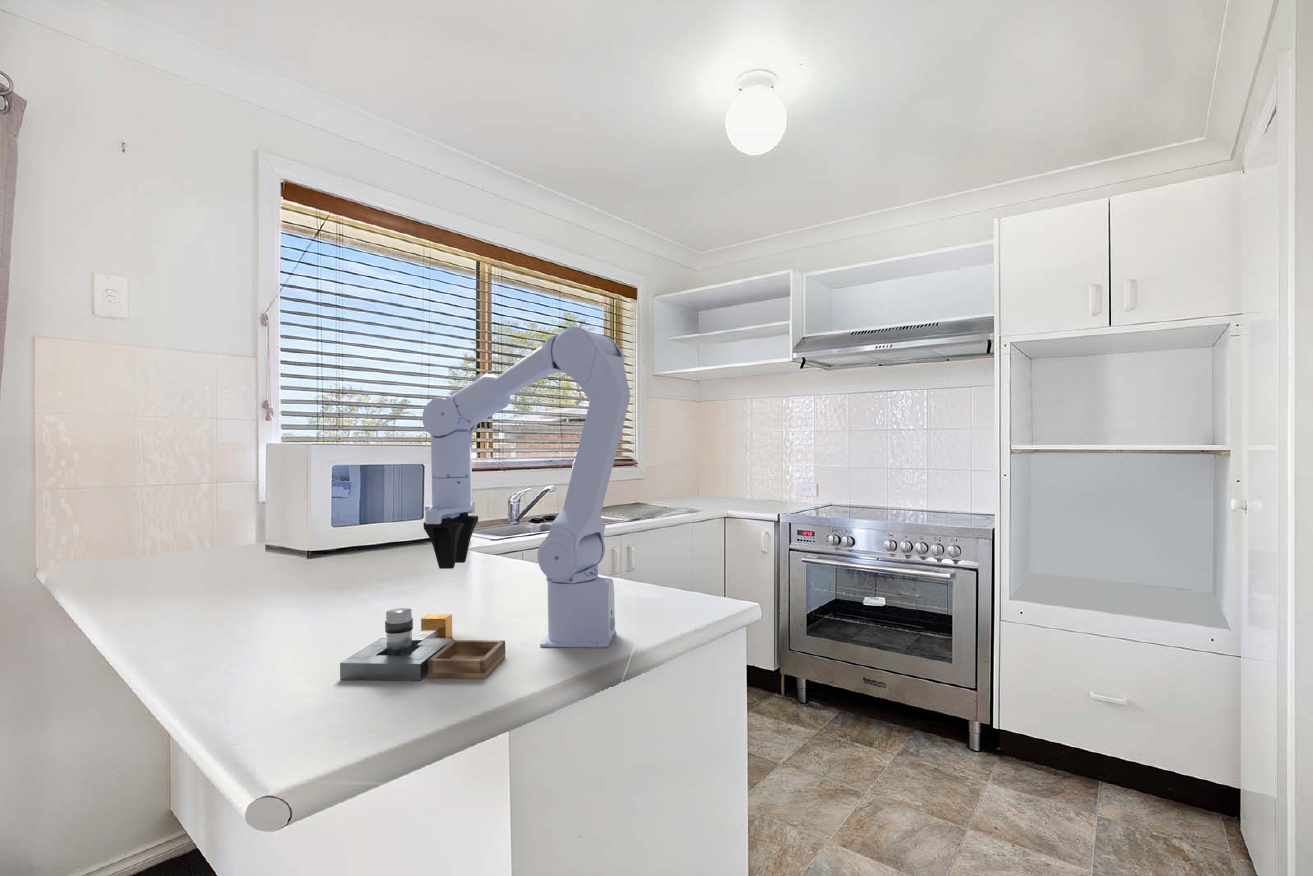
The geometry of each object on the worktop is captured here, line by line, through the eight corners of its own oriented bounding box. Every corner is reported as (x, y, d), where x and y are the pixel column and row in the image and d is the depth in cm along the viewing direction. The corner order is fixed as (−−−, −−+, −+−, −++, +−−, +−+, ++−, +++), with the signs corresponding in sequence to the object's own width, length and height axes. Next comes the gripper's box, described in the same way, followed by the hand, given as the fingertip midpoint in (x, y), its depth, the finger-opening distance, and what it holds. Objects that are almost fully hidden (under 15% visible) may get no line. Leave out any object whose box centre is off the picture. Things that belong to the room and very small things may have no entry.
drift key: (428, 635, 97) (428, 614, 97) (452, 636, 97) (451, 614, 97) (402, 654, 89) (402, 630, 89) (428, 654, 88) (428, 630, 88)
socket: (381, 652, 89) (381, 637, 89) (453, 653, 89) (452, 638, 89) (340, 679, 79) (339, 663, 79) (420, 680, 79) (420, 663, 79)
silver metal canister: (417, 661, 86) (417, 607, 86) (406, 670, 82) (405, 614, 82) (393, 661, 86) (392, 607, 86) (380, 670, 82) (379, 614, 82)
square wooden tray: (505, 656, 87) (505, 640, 87) (484, 678, 79) (484, 661, 79) (453, 656, 88) (453, 640, 88) (428, 677, 80) (427, 660, 80)
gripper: (444, 474, 109) (446, 556, 109) (404, 480, 95) (405, 575, 95) (486, 474, 109) (487, 556, 109) (452, 479, 94) (453, 575, 94)
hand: (452, 565), depth 102 cm, fingers open, 4 cm apart
